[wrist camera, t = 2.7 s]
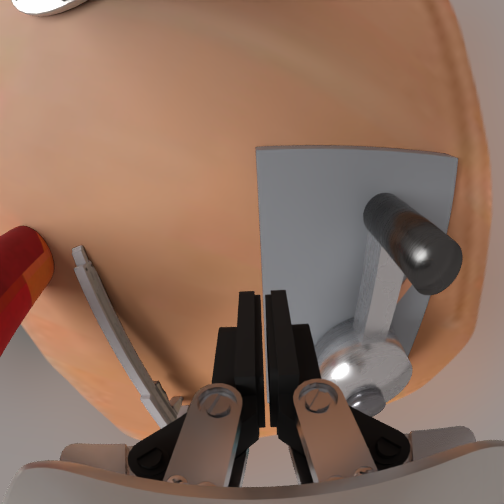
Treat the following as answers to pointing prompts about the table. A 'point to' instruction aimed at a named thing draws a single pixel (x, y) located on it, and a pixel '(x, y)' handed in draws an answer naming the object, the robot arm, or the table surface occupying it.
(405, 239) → the metal crank handle
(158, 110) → the table surface
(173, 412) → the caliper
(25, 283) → the paper cup
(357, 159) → the stand
